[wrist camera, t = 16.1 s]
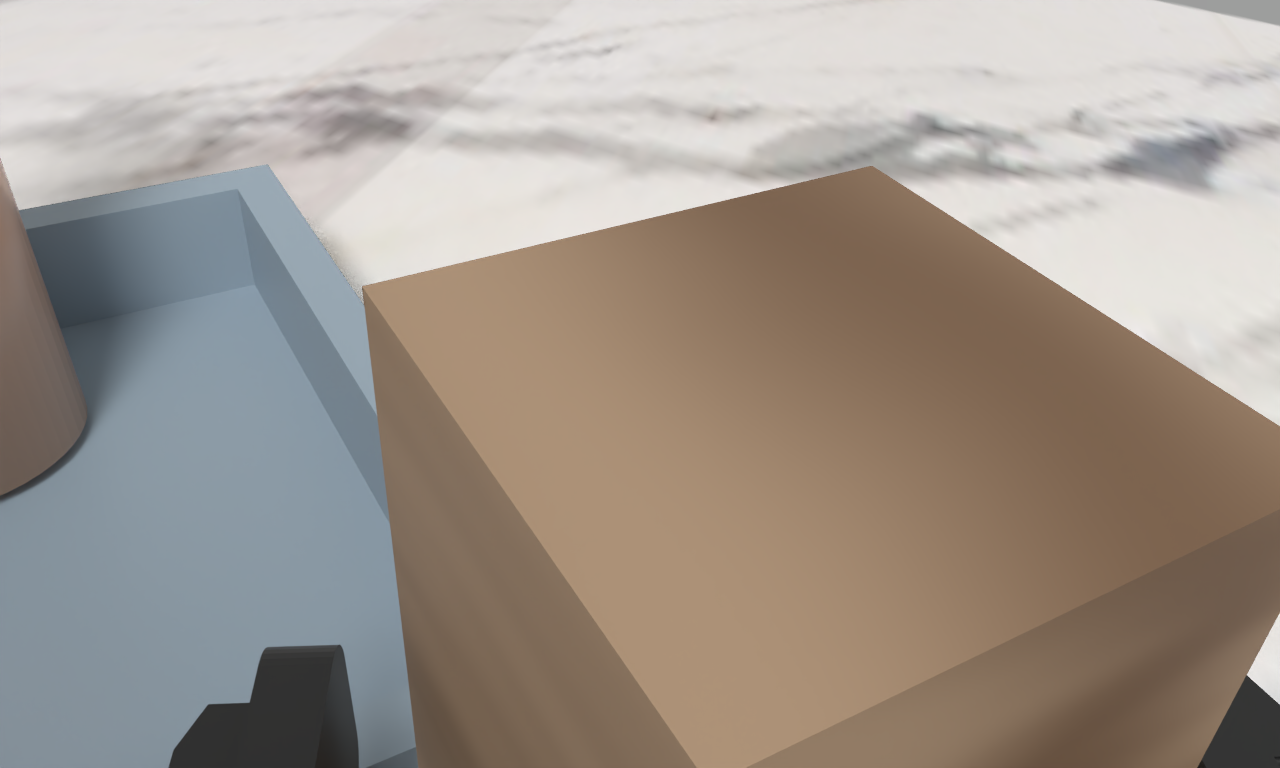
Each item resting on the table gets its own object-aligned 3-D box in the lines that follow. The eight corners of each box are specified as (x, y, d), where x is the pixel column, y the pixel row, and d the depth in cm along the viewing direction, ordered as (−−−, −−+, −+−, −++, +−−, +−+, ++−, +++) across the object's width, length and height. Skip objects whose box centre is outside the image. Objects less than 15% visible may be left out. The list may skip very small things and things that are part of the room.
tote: (-500, 1331, 13) (-698, 1210, 11) (-353, 430, 25) (-434, 294, 23) (604, 809, 19) (609, 666, 17) (286, 284, 31) (267, 164, 29)
